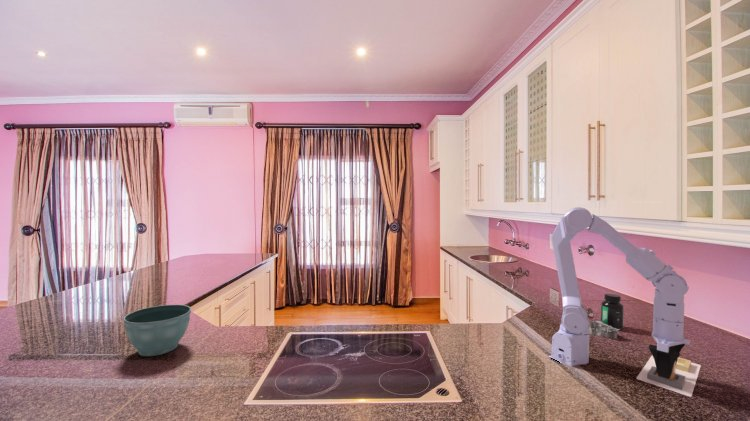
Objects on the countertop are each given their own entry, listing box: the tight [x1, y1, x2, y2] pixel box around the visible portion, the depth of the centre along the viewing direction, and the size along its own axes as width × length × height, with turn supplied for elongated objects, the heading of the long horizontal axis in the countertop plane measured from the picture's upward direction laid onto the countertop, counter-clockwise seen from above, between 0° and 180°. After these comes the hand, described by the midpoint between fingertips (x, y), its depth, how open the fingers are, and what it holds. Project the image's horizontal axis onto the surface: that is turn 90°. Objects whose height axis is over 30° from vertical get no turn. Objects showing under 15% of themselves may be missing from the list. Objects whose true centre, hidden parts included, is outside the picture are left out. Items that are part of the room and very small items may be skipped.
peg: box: [657, 361, 676, 381], centre depth 81 cm, size 3×3×6 cm
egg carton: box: [587, 320, 620, 340], centre depth 113 cm, size 11×8×4 cm
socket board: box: [636, 354, 702, 398], centre depth 85 cm, size 24×10×2 cm, turn 131°
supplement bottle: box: [600, 293, 625, 331], centre depth 119 cm, size 7×7×12 cm
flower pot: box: [123, 304, 192, 357], centre depth 93 cm, size 16×16×11 cm
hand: (666, 372), depth 81 cm, fingers open, 7 cm apart
